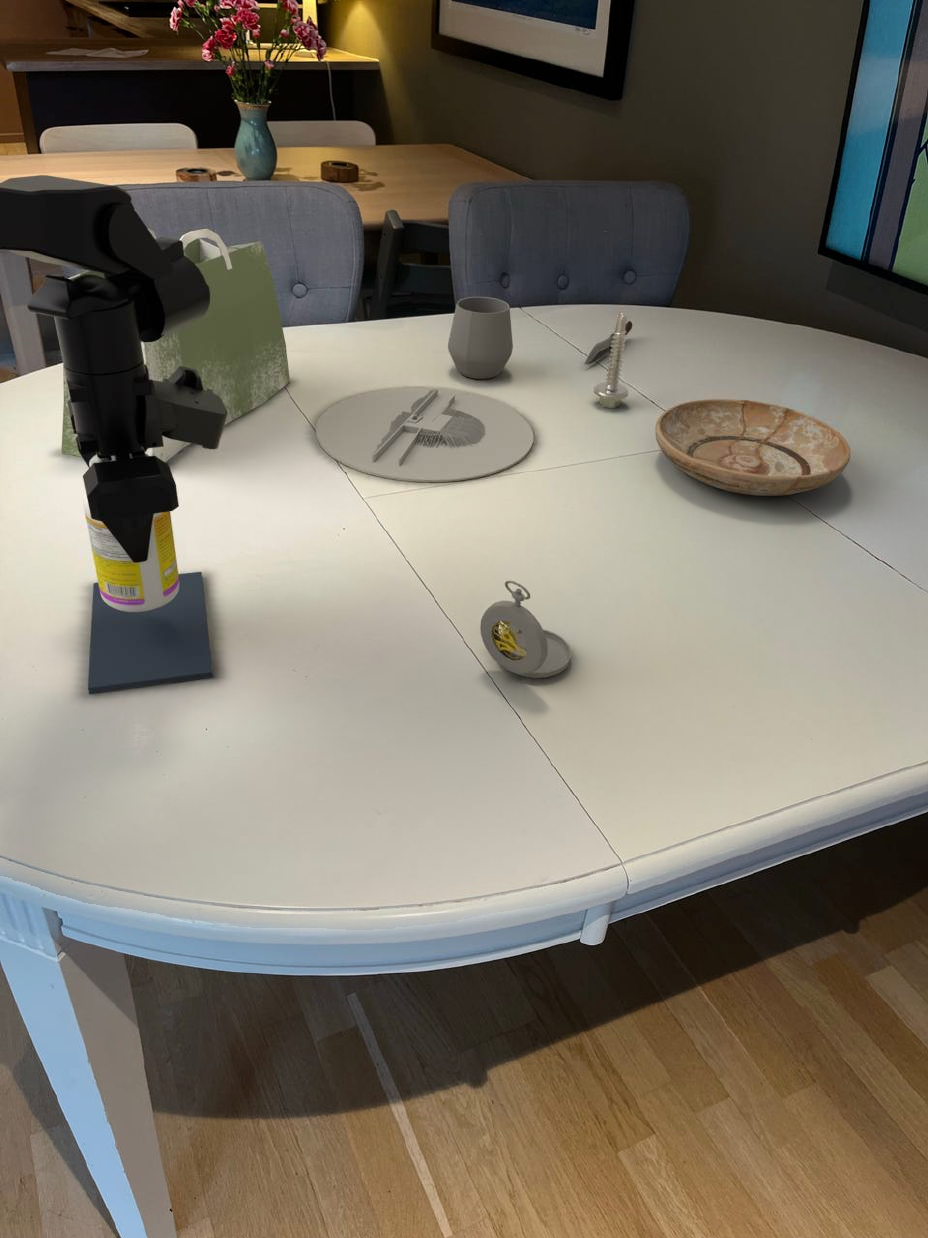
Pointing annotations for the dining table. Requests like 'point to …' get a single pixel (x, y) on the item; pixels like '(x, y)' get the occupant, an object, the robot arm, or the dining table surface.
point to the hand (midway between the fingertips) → (134, 540)
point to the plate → (424, 434)
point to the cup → (481, 337)
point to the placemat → (150, 641)
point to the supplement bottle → (134, 565)
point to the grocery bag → (219, 335)
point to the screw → (614, 368)
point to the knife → (604, 346)
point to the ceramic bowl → (751, 446)
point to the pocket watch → (522, 639)
